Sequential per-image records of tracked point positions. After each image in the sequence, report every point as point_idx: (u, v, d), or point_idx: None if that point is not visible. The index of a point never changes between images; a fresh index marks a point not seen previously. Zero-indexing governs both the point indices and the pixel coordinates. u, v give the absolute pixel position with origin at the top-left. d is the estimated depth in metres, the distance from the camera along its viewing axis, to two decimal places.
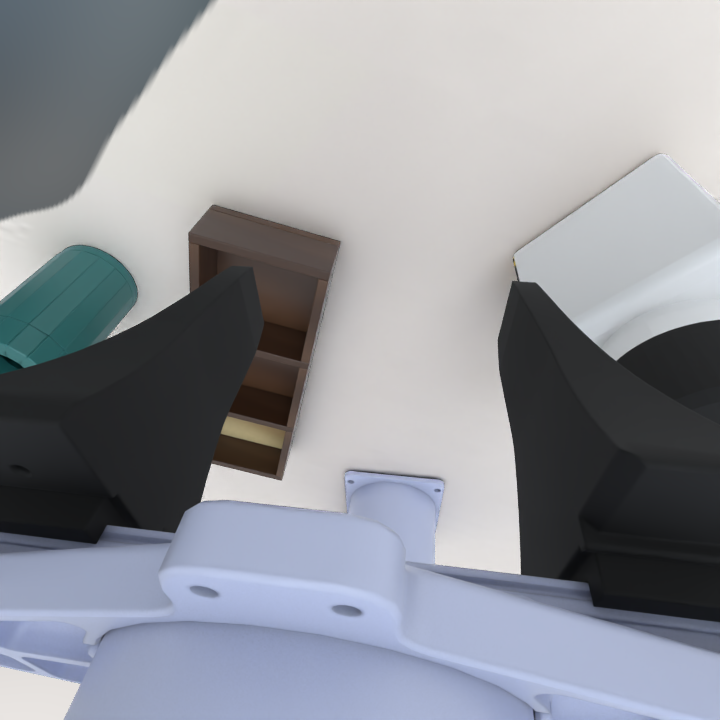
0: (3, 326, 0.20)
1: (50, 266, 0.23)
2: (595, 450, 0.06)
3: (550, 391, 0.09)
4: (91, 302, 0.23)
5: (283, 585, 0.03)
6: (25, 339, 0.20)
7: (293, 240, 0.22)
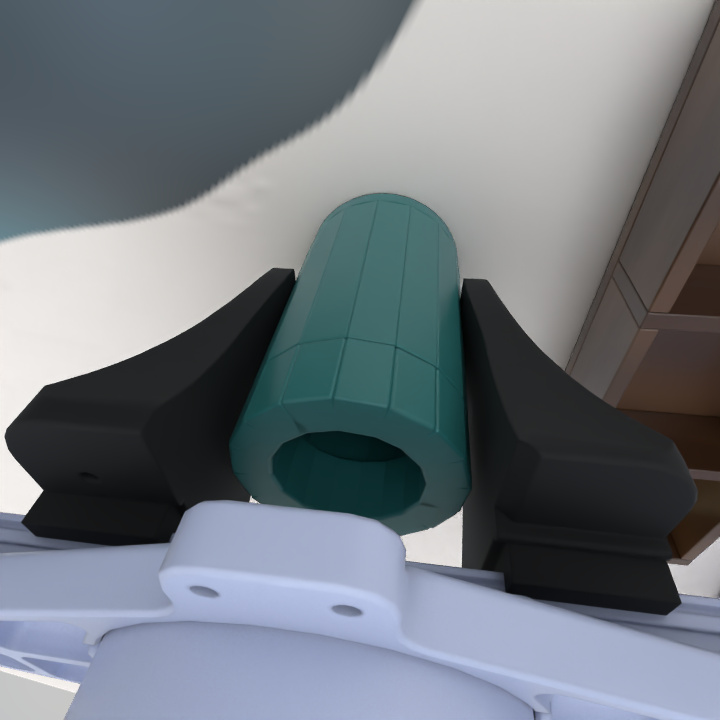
0: (353, 361, 0.08)
1: (341, 234, 0.11)
2: (505, 442, 0.07)
3: (483, 386, 0.09)
4: (445, 287, 0.11)
5: (283, 585, 0.03)
6: (410, 384, 0.08)
7: None
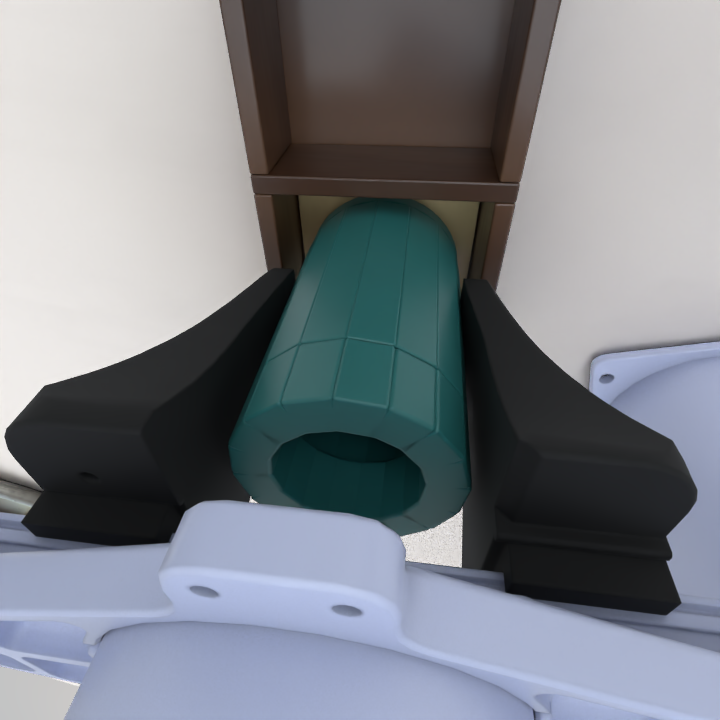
0: (353, 361, 0.08)
1: (341, 234, 0.11)
2: (505, 442, 0.07)
3: (483, 386, 0.09)
4: (445, 287, 0.11)
5: (283, 585, 0.03)
6: (410, 385, 0.08)
7: None
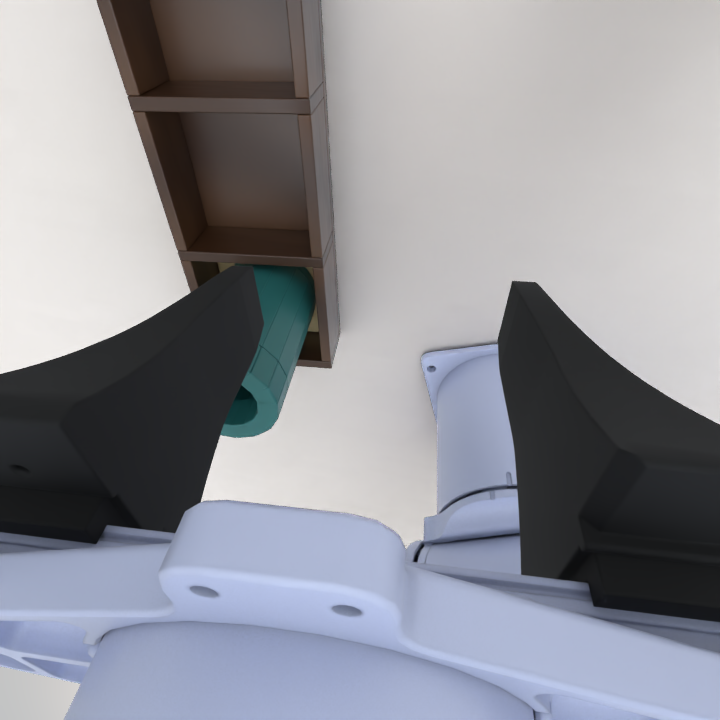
0: None
1: None
2: (595, 450, 0.06)
3: (550, 391, 0.09)
4: (286, 305, 0.20)
5: (283, 585, 0.03)
6: None
7: None
